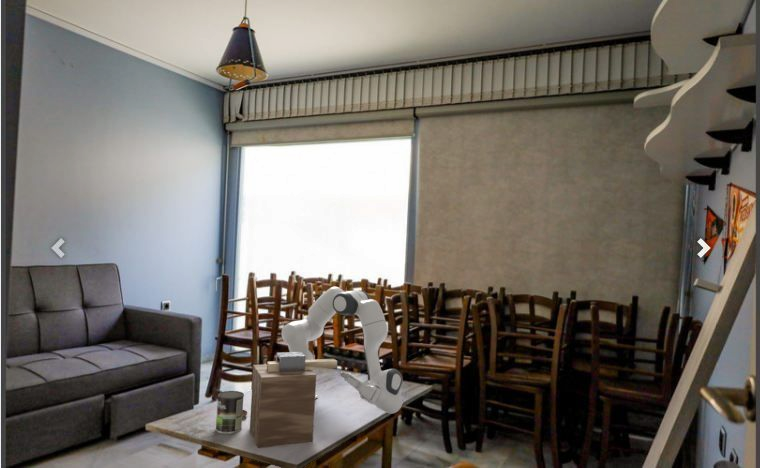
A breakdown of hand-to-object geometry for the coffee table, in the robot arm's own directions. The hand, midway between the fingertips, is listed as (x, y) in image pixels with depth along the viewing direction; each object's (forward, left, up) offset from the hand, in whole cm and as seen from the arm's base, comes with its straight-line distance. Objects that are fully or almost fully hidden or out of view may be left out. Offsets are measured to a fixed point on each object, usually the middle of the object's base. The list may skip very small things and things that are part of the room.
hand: (344, 376), depth 208 cm
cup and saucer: (-26, -41, -22) cm, 53 cm away
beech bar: (0, -18, +4) cm, 19 cm away
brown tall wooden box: (0, -26, -22) cm, 34 cm away
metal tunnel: (0, -23, +4) cm, 23 cm away
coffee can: (-12, -44, -22) cm, 51 cm away
